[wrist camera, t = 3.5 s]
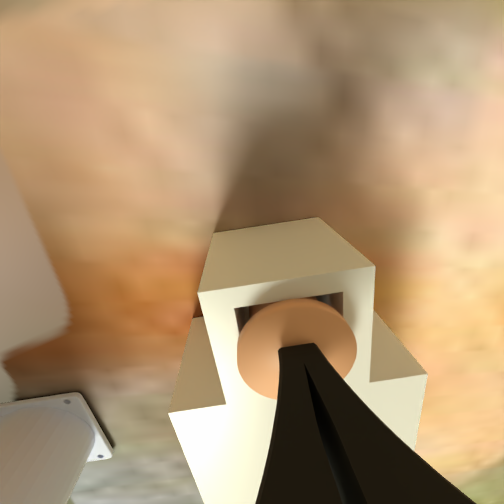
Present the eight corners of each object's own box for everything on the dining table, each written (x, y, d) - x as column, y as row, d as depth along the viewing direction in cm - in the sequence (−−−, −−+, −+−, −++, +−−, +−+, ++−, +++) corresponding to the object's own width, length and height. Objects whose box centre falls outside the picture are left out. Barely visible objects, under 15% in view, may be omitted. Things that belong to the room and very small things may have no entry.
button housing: (229, 447, 24) (226, 559, 17) (170, 239, 16) (124, 304, 9) (355, 428, 24) (400, 533, 17) (361, 210, 16) (448, 254, 9)
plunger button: (244, 345, 14) (246, 408, 11) (229, 271, 12) (226, 318, 9) (327, 333, 14) (355, 391, 11) (325, 257, 12) (358, 298, 9)
